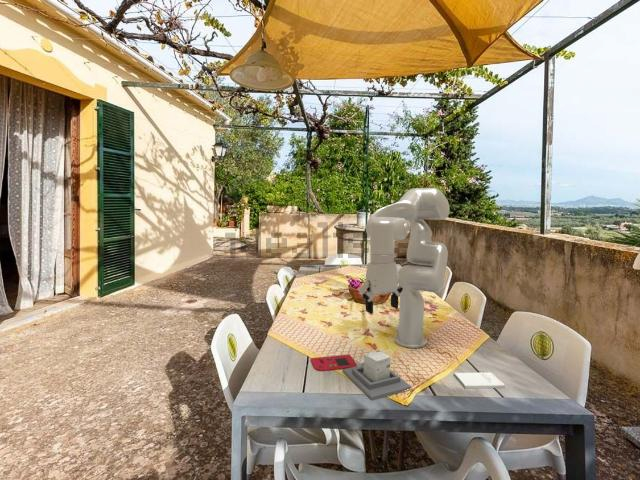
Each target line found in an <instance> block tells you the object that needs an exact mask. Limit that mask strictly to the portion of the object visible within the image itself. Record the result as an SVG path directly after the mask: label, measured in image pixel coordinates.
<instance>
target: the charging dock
mask: <svg viewBox="0 0 640 480" xmlns="http://www.w3.org/2000/svg"><path fill="white" fill-rule="evenodd" d="M356 364H357V366H356V367H351V368H347V369H342V373H343V374H344V375H345V376H347V378H348V379H349V380H351V381H352V382H353V384H355V385H356V386H357V387H358V388H359V389H360V390H361V391H362V392H363V393H364V394H365V395H366V396H367V397H368V398H369V399H371V401H374V400H377V399H378V400H379V399H383V398H385V397H389V396H393V395H396V393H397V394H399V393H398V392H401V393H403V392H402V391H404V390H407V389H410V388H411V389H412V385H410V384H409V383H408V382H406V381H405V380H404V379H402V378H401V376H399V375H398V374H396V372H394V371H393V370H391V369H390V378H388V379H384V380H380V381H376V382H373V381H371V380H370V379H368V378H367V377H365V376H364V358H360V359H357V360H356ZM404 392H405V391H404Z"/></svg>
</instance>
